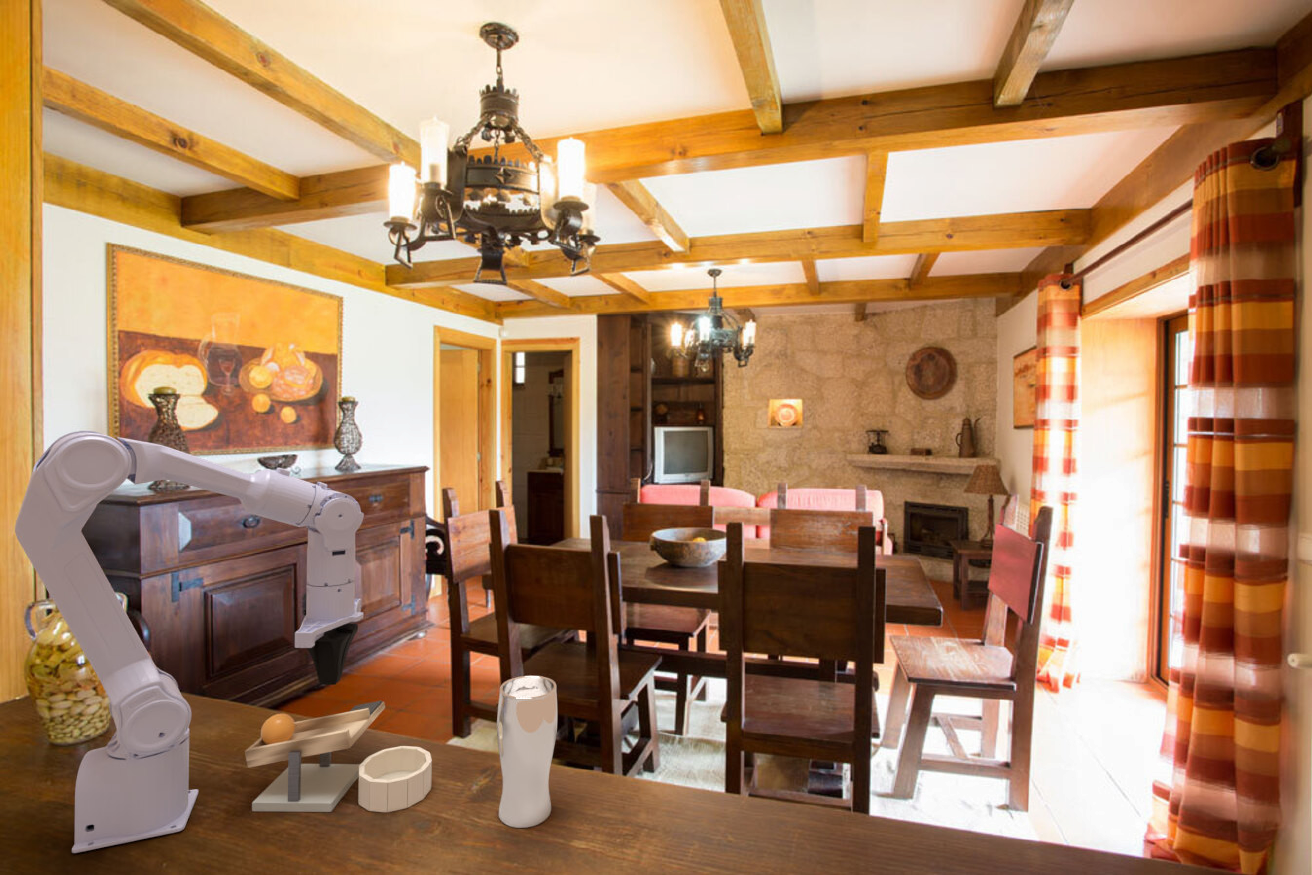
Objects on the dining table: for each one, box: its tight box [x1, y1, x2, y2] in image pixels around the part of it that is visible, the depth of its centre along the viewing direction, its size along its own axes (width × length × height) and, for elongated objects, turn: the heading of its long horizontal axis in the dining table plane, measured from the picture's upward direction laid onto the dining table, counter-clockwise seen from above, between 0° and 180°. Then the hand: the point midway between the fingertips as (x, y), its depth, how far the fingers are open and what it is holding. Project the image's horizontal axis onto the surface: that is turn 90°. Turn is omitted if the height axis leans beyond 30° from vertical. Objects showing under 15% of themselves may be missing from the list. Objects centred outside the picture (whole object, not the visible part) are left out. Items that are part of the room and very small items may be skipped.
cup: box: [357, 745, 433, 813], centre depth 78 cm, size 8×8×4 cm
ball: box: [260, 713, 296, 745], centre depth 77 cm, size 4×4×4 cm
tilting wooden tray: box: [244, 700, 386, 768], centre depth 79 cm, size 12×11×2 cm
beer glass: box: [496, 675, 558, 829], centre depth 74 cm, size 7×7×15 cm
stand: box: [251, 750, 361, 813], centre depth 77 cm, size 9×8×7 cm
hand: (329, 682), depth 84 cm, fingers closed
